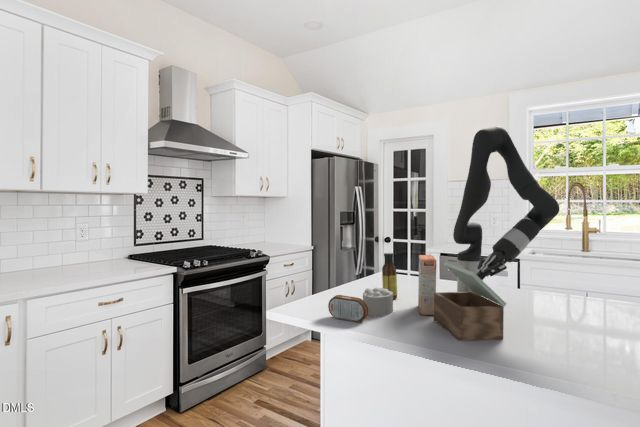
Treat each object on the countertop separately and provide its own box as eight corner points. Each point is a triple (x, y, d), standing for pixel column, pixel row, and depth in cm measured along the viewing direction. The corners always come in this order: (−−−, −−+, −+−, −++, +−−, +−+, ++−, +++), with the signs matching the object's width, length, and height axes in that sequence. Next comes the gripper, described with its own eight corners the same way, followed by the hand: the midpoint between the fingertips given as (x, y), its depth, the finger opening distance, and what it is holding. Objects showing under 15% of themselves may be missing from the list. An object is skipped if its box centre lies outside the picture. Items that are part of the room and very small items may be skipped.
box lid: (471, 291, 138) (475, 287, 138) (504, 306, 117) (508, 301, 117) (443, 264, 137) (447, 260, 137) (471, 275, 116) (475, 270, 116)
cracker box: (436, 316, 142) (437, 259, 141) (419, 315, 143) (420, 259, 142) (433, 306, 155) (433, 254, 155) (417, 305, 157) (418, 254, 156)
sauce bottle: (398, 297, 170) (398, 252, 170) (396, 300, 164) (396, 254, 164) (383, 296, 172) (383, 251, 172) (381, 299, 166) (381, 253, 166)
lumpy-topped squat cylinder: (395, 310, 150) (395, 288, 150) (382, 318, 139) (382, 294, 139) (371, 306, 156) (371, 285, 156) (357, 314, 145) (357, 291, 145)
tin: (368, 322, 135) (368, 298, 135) (365, 324, 133) (364, 300, 132) (331, 315, 143) (331, 293, 143) (327, 318, 140) (327, 295, 140)
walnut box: (471, 319, 138) (472, 291, 137) (503, 339, 118) (503, 306, 117) (434, 320, 136) (434, 292, 136) (459, 340, 117) (459, 308, 116)
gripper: (492, 235, 134) (458, 270, 133) (515, 238, 121) (477, 277, 120) (506, 250, 135) (472, 285, 133) (531, 255, 121) (493, 294, 120)
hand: (474, 281), depth 127 cm, fingers closed
